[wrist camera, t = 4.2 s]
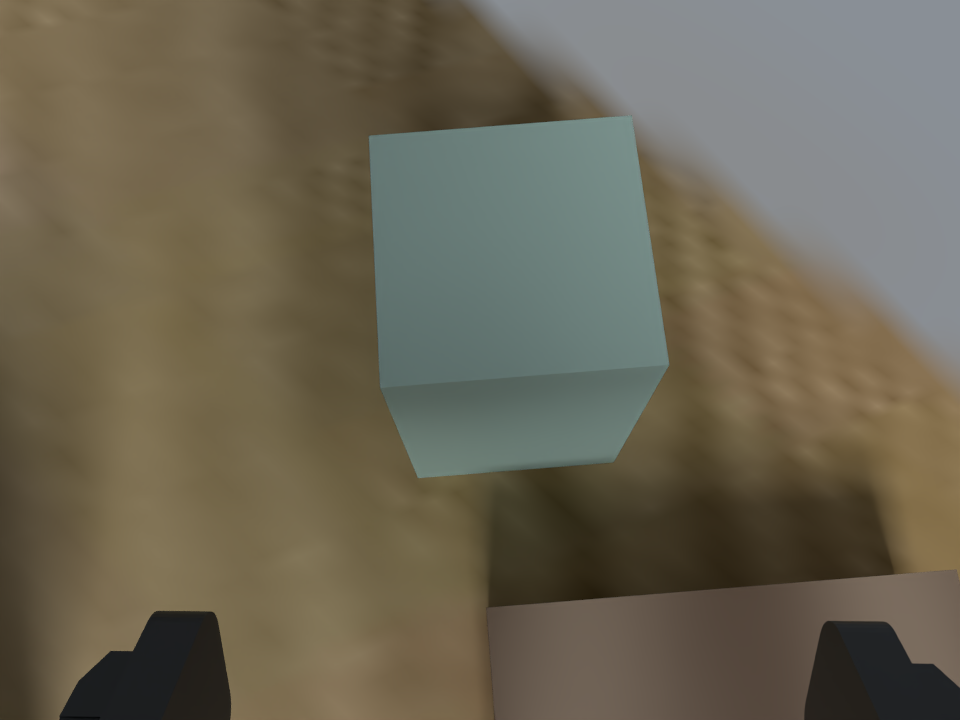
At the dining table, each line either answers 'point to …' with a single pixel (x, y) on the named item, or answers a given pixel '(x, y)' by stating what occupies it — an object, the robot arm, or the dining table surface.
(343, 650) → the dining table surface
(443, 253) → the sage block
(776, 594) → the walnut plinth
